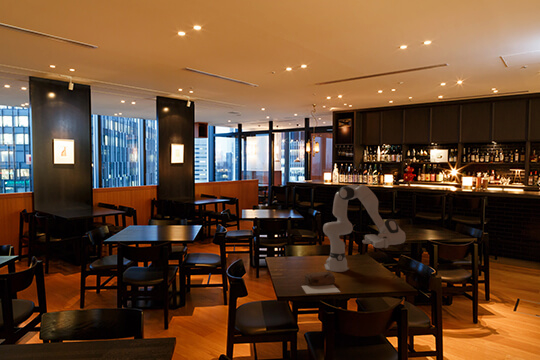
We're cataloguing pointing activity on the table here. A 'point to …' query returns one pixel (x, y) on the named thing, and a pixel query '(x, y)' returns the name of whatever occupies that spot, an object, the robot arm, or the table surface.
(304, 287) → the mat
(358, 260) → the table surface
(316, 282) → the block
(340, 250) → the robot arm
